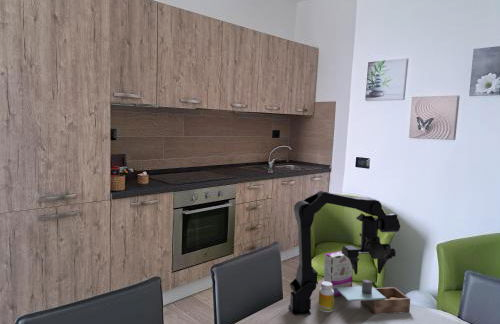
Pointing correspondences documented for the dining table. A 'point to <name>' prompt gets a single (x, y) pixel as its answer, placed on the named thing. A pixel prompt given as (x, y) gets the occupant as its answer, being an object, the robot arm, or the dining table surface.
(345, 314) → the dining table surface
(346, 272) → the candy bar box
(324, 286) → the supplement bottle
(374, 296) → the sliding cover
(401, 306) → the walnut box
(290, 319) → the dining table surface
